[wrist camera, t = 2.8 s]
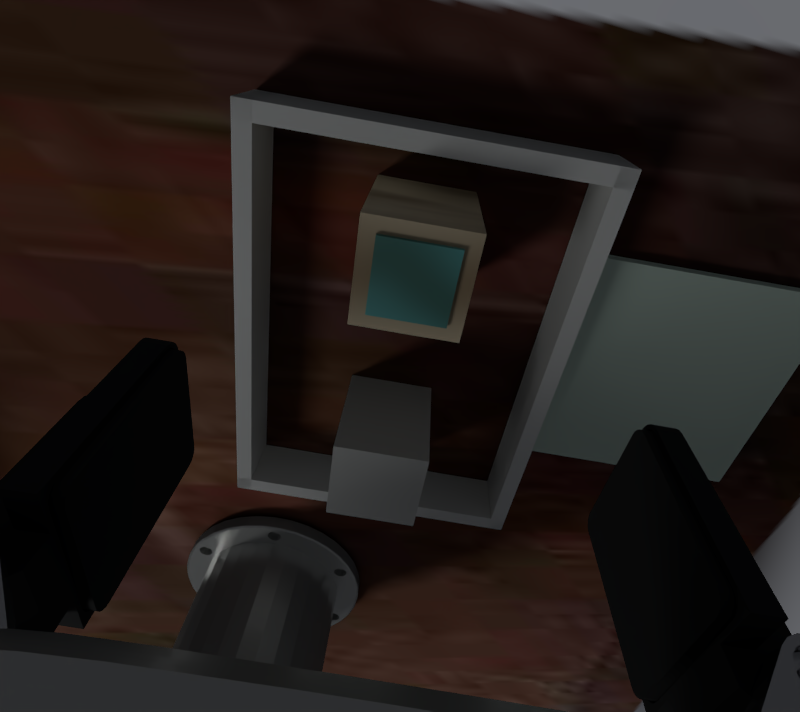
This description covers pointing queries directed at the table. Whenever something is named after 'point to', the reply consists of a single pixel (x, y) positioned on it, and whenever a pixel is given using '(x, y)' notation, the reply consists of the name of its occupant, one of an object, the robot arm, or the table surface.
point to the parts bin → (267, 110)
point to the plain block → (381, 451)
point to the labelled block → (416, 258)
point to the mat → (673, 362)
